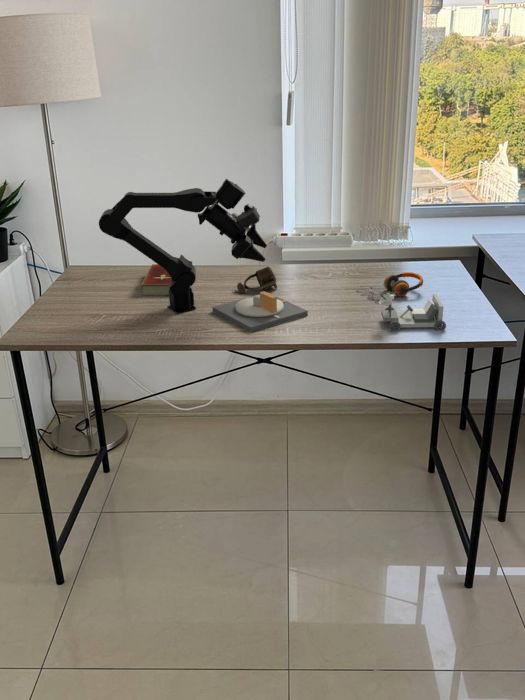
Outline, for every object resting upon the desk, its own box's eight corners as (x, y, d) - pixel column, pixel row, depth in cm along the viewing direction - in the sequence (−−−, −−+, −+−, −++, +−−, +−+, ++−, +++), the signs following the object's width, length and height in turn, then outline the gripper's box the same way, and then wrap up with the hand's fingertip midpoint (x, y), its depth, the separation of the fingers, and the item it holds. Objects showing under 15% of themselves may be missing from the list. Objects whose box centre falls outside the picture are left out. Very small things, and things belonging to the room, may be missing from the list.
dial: (226, 306, 216) (225, 289, 214) (265, 296, 223) (264, 279, 221) (254, 321, 205) (253, 303, 203) (294, 310, 212) (294, 292, 210)
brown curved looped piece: (278, 278, 227) (279, 262, 235) (237, 275, 227) (239, 259, 235) (276, 298, 231) (277, 281, 239) (236, 295, 231) (238, 278, 239)
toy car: (381, 298, 197) (376, 284, 208) (379, 332, 201) (374, 316, 212) (448, 297, 197) (440, 283, 207) (445, 331, 201) (437, 315, 211)
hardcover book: (188, 274, 251) (187, 263, 249) (179, 296, 232) (178, 283, 230) (153, 275, 251) (152, 263, 249) (142, 296, 232) (140, 284, 230)
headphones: (351, 282, 230) (404, 261, 235) (353, 297, 233) (406, 275, 237) (376, 299, 216) (433, 276, 221) (379, 314, 219) (435, 291, 223)
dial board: (250, 332, 202) (250, 326, 202) (212, 311, 217) (212, 306, 217) (307, 315, 213) (307, 309, 212) (267, 296, 228) (267, 291, 227)
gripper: (238, 213, 199) (282, 248, 204) (243, 188, 214) (283, 221, 219) (213, 242, 204) (256, 275, 209) (220, 215, 219) (260, 247, 224)
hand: (265, 253), depth 215 cm, fingers open, 9 cm apart
